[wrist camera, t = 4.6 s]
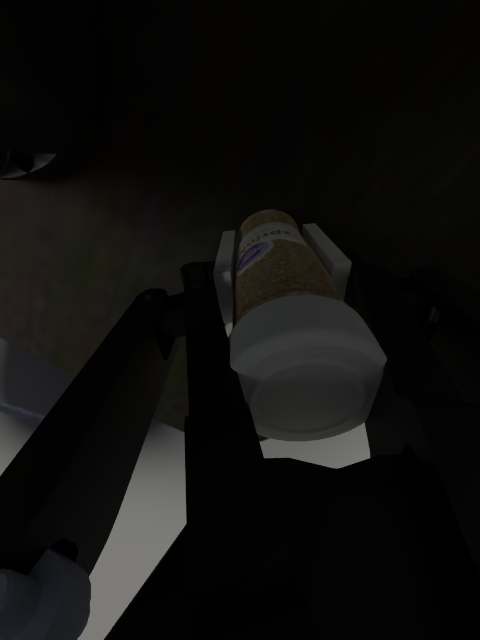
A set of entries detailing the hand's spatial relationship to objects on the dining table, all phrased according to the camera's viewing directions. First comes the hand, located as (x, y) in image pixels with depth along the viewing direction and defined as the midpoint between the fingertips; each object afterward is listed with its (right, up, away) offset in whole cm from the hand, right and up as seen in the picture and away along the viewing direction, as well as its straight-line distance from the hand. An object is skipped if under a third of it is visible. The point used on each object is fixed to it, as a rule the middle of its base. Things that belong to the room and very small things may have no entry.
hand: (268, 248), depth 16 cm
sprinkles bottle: (0, +1, +1) cm, 1 cm away
